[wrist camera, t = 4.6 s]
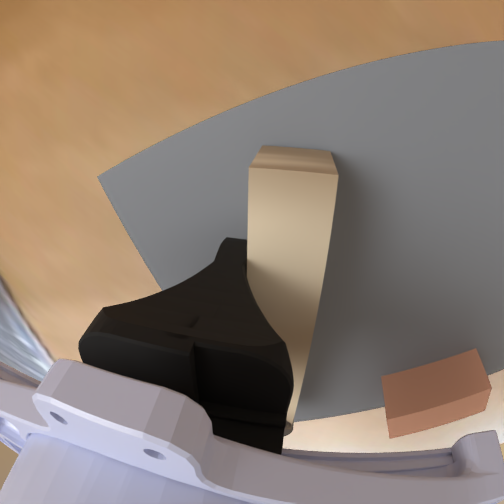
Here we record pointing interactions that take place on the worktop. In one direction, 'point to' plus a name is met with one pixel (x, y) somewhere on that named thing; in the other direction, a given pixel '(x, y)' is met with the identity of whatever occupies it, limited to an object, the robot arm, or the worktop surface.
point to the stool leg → (290, 245)
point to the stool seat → (361, 225)
